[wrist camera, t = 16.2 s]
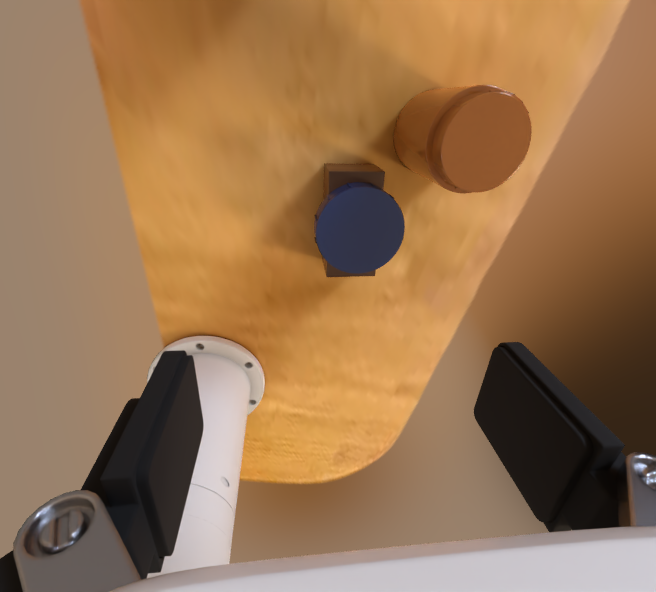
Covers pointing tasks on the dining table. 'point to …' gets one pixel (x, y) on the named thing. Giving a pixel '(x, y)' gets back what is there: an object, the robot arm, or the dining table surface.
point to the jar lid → (358, 227)
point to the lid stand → (341, 176)
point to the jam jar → (464, 136)
